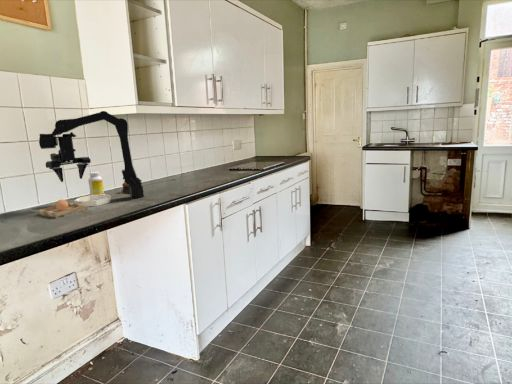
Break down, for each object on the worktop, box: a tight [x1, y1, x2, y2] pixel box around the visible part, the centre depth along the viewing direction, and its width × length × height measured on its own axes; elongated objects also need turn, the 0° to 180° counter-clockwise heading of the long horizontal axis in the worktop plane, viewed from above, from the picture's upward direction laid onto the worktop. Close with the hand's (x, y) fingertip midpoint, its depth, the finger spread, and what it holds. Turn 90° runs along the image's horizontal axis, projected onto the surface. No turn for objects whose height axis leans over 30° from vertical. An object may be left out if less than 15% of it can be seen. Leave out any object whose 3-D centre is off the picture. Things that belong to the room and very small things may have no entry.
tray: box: [37, 202, 88, 219], centre depth 155 cm, size 14×14×2 cm
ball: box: [55, 198, 69, 211], centre depth 154 cm, size 5×5×5 cm
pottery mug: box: [121, 180, 130, 195], centre depth 192 cm, size 12×10×8 cm
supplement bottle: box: [88, 171, 105, 195], centre depth 186 cm, size 7×7×13 cm
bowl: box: [73, 193, 112, 208], centre depth 169 cm, size 15×15×3 cm
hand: (71, 180), depth 166 cm, fingers open, 9 cm apart
